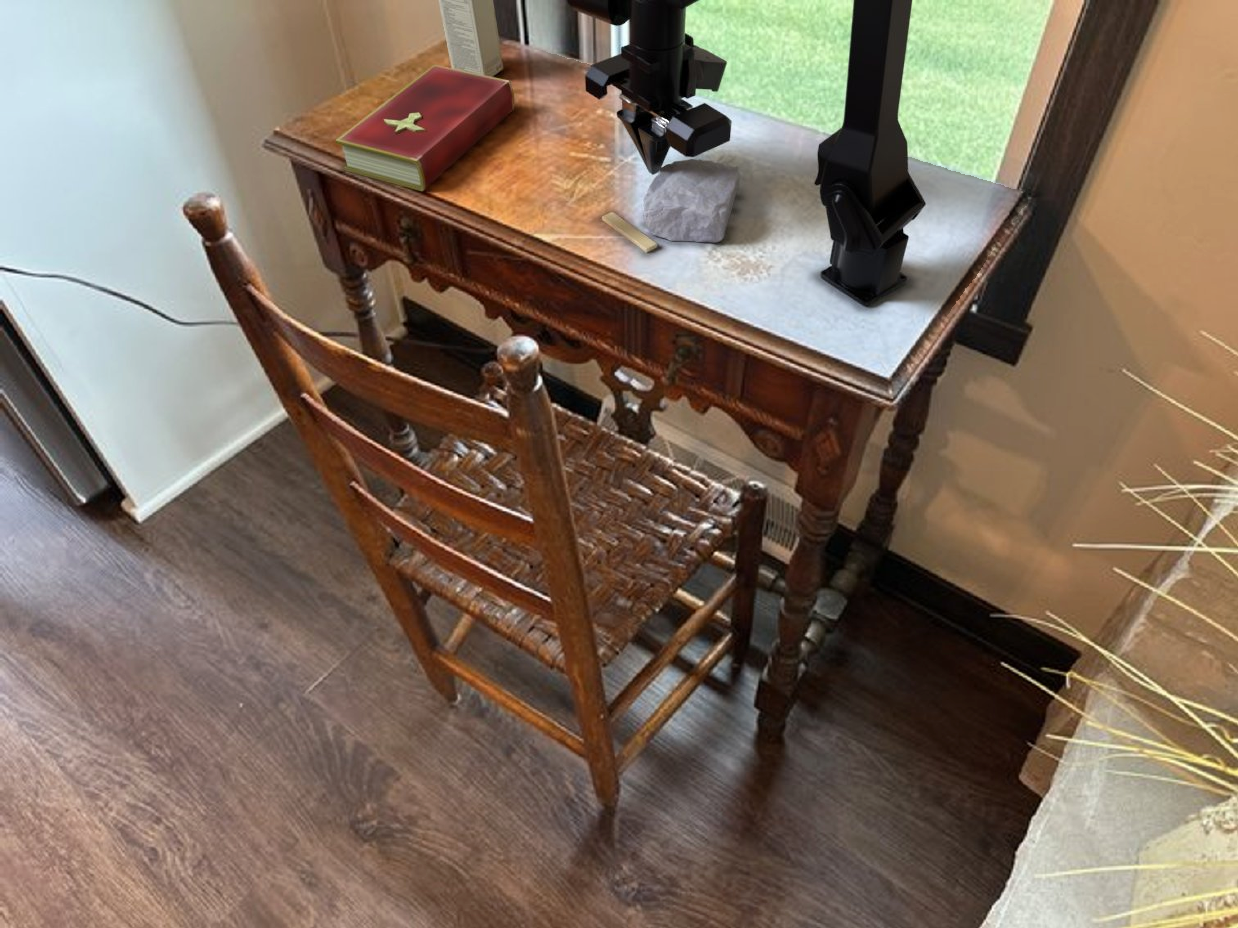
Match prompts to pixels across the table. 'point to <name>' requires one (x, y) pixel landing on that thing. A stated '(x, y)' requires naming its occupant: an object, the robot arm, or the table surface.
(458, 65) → the cosmetic box
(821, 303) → the table surface
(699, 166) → the stone block
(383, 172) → the hardcover book
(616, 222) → the maple strip
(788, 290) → the table surface
